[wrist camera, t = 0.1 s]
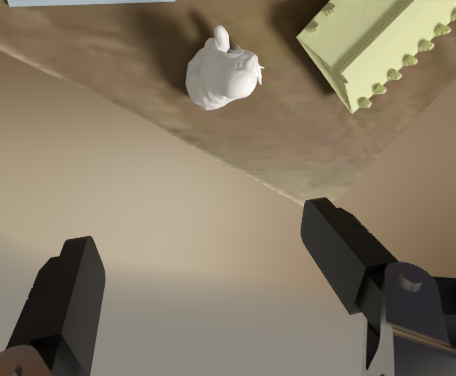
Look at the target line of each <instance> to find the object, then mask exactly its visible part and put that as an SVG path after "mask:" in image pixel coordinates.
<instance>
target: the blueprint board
mask: <svg viewBox="0 0 456 376" xmlns="http://www.w3.org/2000/svg"><path fill="white" fill-rule="evenodd" d="M7 1H8V4H9V6H10V7H18V6H50V5H82V4H114V3H146V2H175V0H7Z"/></svg>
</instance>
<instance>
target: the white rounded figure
mask: <svg viewBox="0 0 456 376" xmlns="http://www.w3.org/2000/svg"><path fill="white" fill-rule="evenodd" d="M236 45H237V44H236ZM237 47H238V49H239V50H236V51H233V50H229V48H230V46H229V36H228V33H227V31H226V30H225V28H224V27H223V26H221V25H217V26H216V27H215V37H214V38H209V39H208V40H207V41H206V43H205V45H204V48H202V49H200V50H199V51H198V52H197V53H196V55H195V56H194V57H193V59H192V60H191V61H189V63H188V69H187V73H186V88H187V91H188V94H189V96H190V99H191V100H192V102H194V103H196V104H199V105H200V106H201V107H202V108H203V109H205V110H211V109H217V108H219V107H222V106H224V105H226V104H227V103H229V102H230V101H233V100H235V99H239V98H244V97H247V96H248V95H250V94H251V92H252V91H253V90H254V88H255V86H256V82H257V77H258V81H259V80H260V81H259V83H260V84H261V83H262V82H261V78H262V76H261V71H260V68H264V67H261V66H260V65H259V64H258V61H257V60H258V58H257V56H256V55H255V54H254V53H252V52H250V51H248V50H245V49H240V48H239V46H238V45H237ZM235 49H236V48H235ZM228 50H229V51H232V52H227V51H228ZM227 53H229V54H227Z"/></svg>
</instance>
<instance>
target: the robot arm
mask: <svg viewBox="0 0 456 376" xmlns="http://www.w3.org/2000/svg"><path fill="white" fill-rule="evenodd" d="M301 238H302V241H303V243H304V245H305V247H306V248H307V250H308V251H309V253H310V255H311V256H312V258H313V259H314V261H315V262H316V264H317V265H318V267H319V268H320V270H321V271H322V273H323V274H324V276H325V278H326V279H327V280H328V282H329V284H330V285H331V287H332V288H333V290H334V291H335V293H336V294H337V296H338V297H339V299H340V301H341V302H342V304H343V305H344V307H345V308H346V310H347V311H348V313H349V314H350V315H352V314H356V313H359V312H362V313H363V314H364V316H365V317H366V320H365V323H364V340H363V359H362V376H456V278H446V277H433V276H431V275H430V274H429V273H428V272H427V271H425V270H424V269H422V268H420V267H418V266H416V265H414V264H411V263H407V262H399V261H398V260H397V259H396V258H395V257H394V256H393V255H392V254H391V253H390V252H389V251H388V250H387V249H386V248H385V247H384V246H383V245H382V244H381V243H380V242H379V241H378V240H377V239H376V238H375V237H374V236H373V235H372V234H371V233H369V231H368V230H367V229H366V228H365V227H364V226H363V225H361V223H360V222H359V221H358V220H357V219H356V218H355V217H354V216H353V214H351V213H349V212H347V211H345V210H344V209H342V208H336V207H335V206H334V205H333V204H332V203H331V202H330V201H329V200H328V199H327V198H326V197H323V198H317V199H311V200H306V202H305V204H304V210H303V217H302V224H301ZM104 287H105V270H104V267H103V263H102V261H101V258H100V255H99V253H98V251H97V248H96V245H95V243H94V240H93V238H92V237H91V236H86V237H80V238H74V239H68V240H66V241H65V243H64V245H63V248H62V251H61V253H60V256H58V257H52V258H50V259H49V260H48V261H47V263H46V264H45V265H44V266H43V267H42V268H41V269H40V270H39V272H38V274H37V277H36V279H35V281H34V284H33V288H31V291H30V293H29V296H28V300H26V303H25V305H24V307H23V310H22V312H21V314H20V317H19V319H18V321H17V324H16V326H15V329H14V331H13V333H12V336H11V338H10V340H9V343H8V346H7V347H6V349H5V350H4V351H2V352H1V353H0V376H90V372H91V366H92V360H93V354H94V347H95V342H96V336H97V329H98V323H99V317H100V311H101V305H102V299H103V293H104Z"/></svg>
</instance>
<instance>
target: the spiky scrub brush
mask: <svg viewBox="0 0 456 376" xmlns="http://www.w3.org/2000/svg"><path fill="white" fill-rule="evenodd" d="M454 20H456V0H330V1H328V3H327V4H326V5H325V6H324V7H323V8H322V9H321V10H320V12H319V13H318V14H317V15H316V16H315V17H314V18H313V19H312V20H311V21H310V23H309V24H308V25H307V26H306V27H305V28H304V29H303V30H302V31H301V32H300V33H299V35H298V36H297V37H296V38H297V39H298V41H299V42H300V43H301V45H302V46H303V47H304V49H305V50H306V52H307V53H308V54H309V56H310V57H311V58H312V60H313V61H314V63H315V64H316V65H317V67H318V68H319V69H320V71H321V72H322V74H323V75H324V76H325V78H326V79H327V80H328V82H329V83H330V85H331V86H332V87H333V89H334V90H335V92H336V93H337V94H338V96H339V97H340V98H341V100H342V101H343V103H344V104H345V105H346V107H347V108H348V109H349V111H350V112H351V114H353V113H354V112H355V111H356V110H357V109H358V108H359V107H361V108H362V107H364V108H365V107H366V108H369V107H370V106H371V104H372V103H371V102H370V101H369V100H368V99H369V98H370V97H371V96H372V95H373V94H384V93H385V92H386V89H385V87H383V84H384V83H386V82H387V81H388V80H399V79H400V78H401V76H402V74H400V73H399V72H398V70H399V69H400V68H401V67H402V66H408V65H411V66H412V65H415V64H416V63H417V62H418V60H417V59H416V58H415V57H414V55H415V54H416V53H417V52H418V51H419V52H421V51H426V50H431V49H432V48H433V47H434V43H431V42H430V40H431V39H432V38H433V37H435V36H440V35H445V34H448V33H449V32H450V31H451V28H449V27H448V26H446V25H447V24H448V23H449V22H450V21H454Z"/></svg>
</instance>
